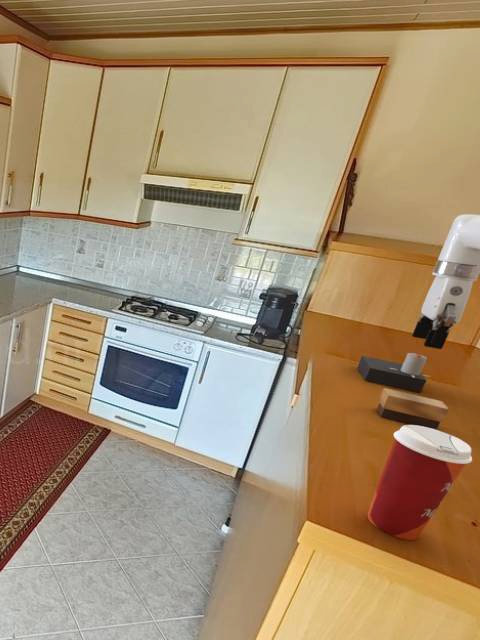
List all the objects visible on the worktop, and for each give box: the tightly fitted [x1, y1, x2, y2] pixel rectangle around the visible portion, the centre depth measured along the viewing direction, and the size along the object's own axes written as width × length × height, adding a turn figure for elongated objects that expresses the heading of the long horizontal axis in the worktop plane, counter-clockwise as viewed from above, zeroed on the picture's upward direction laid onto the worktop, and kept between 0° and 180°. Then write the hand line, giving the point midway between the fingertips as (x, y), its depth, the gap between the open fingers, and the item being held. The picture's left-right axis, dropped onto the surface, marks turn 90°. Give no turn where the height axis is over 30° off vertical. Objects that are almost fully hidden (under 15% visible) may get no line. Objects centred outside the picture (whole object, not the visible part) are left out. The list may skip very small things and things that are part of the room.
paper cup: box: [367, 424, 473, 541], centre depth 65 cm, size 8×8×14 cm
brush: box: [376, 387, 450, 430], centre depth 100 cm, size 10×4×5 cm, turn 61°
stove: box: [356, 355, 431, 394], centre depth 123 cm, size 12×11×4 cm
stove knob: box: [401, 352, 428, 375], centre depth 119 cm, size 4×4×5 cm
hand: (426, 342), depth 116 cm, fingers open, 9 cm apart
